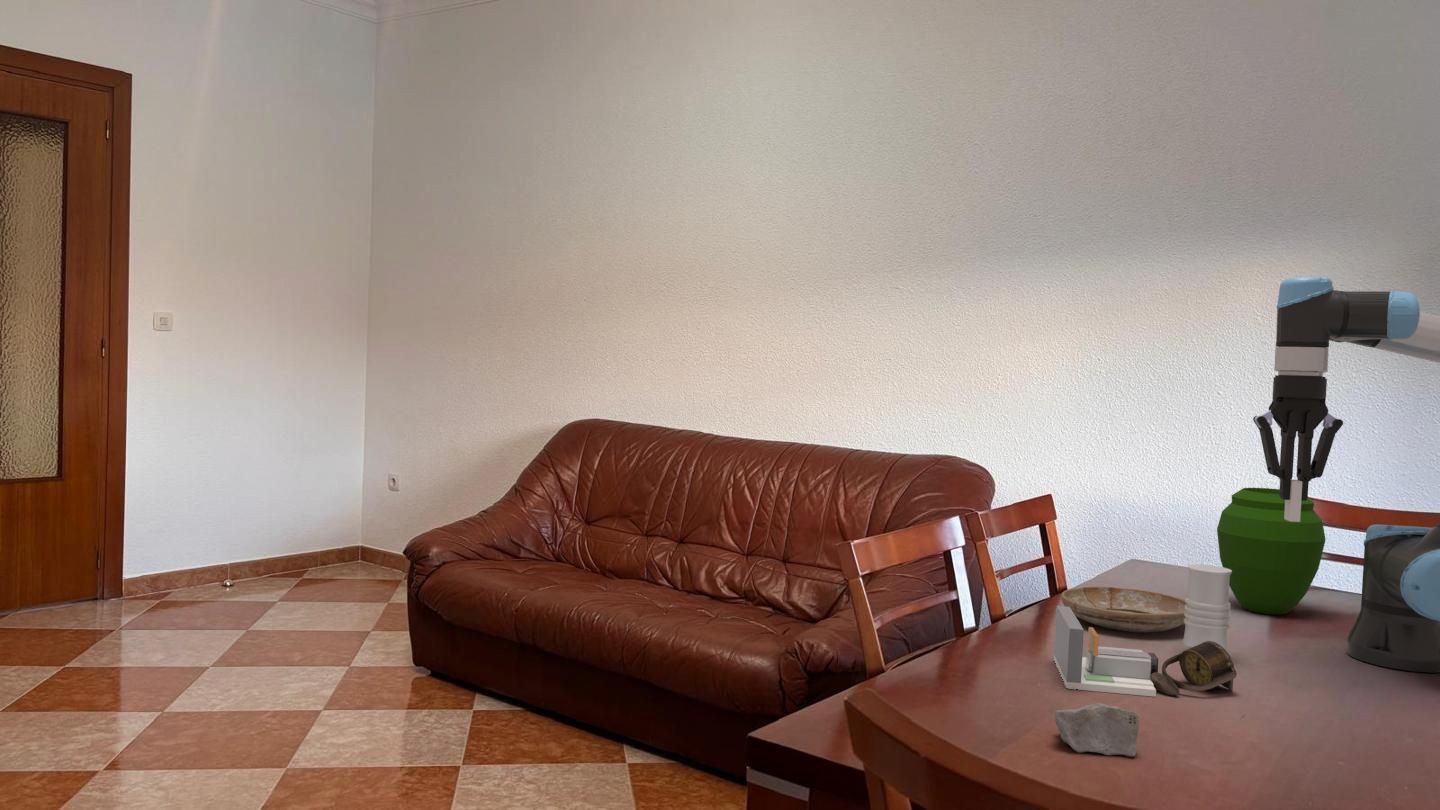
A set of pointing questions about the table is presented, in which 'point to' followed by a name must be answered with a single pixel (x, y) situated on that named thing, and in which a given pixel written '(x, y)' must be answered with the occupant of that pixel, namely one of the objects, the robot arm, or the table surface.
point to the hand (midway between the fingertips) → (1292, 520)
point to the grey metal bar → (1114, 653)
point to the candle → (1207, 605)
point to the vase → (1269, 550)
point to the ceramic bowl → (1125, 608)
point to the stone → (1099, 729)
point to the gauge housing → (1097, 663)
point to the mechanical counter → (1198, 670)
